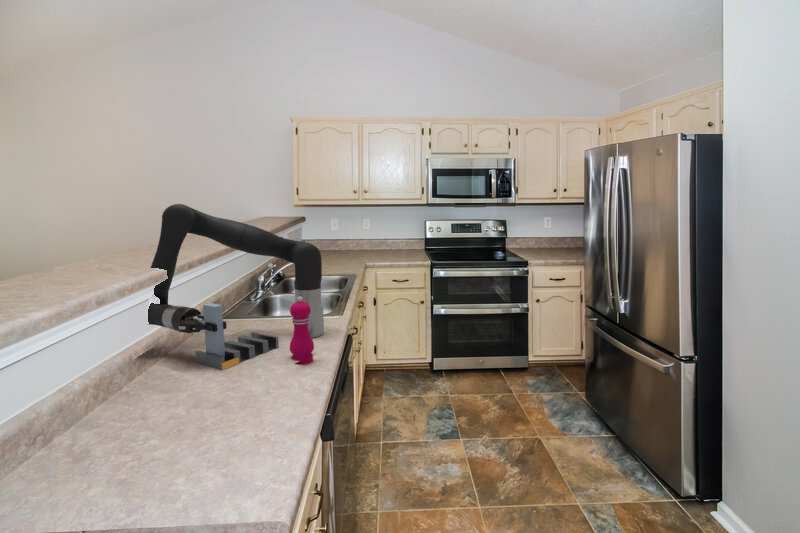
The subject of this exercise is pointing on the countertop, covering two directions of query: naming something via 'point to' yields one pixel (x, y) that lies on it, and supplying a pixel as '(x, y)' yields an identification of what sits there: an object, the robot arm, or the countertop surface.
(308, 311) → the pepper mill
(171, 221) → the robot arm
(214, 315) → the panel
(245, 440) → the countertop surface
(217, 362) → the rack
